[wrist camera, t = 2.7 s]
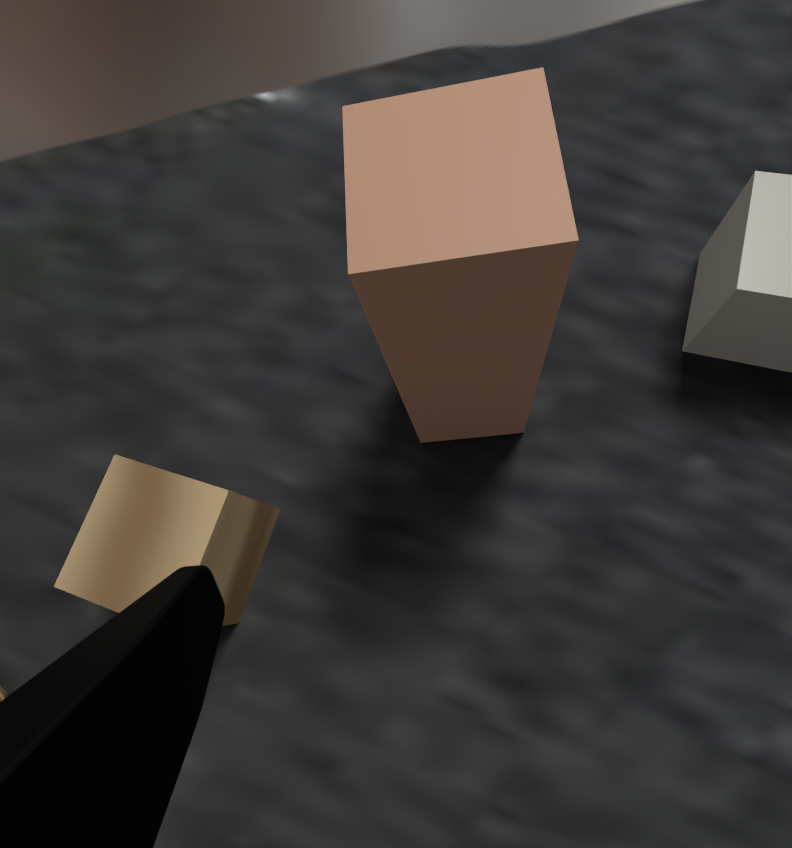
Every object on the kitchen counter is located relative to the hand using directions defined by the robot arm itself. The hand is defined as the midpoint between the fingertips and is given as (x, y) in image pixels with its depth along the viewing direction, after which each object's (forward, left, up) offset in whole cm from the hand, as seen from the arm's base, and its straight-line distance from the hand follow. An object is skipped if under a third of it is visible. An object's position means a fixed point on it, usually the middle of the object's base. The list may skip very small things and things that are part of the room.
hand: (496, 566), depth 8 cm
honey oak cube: (+12, +2, -14) cm, 18 cm away
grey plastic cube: (-8, -14, -14) cm, 21 cm away
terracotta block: (+3, -8, -14) cm, 16 cm away
